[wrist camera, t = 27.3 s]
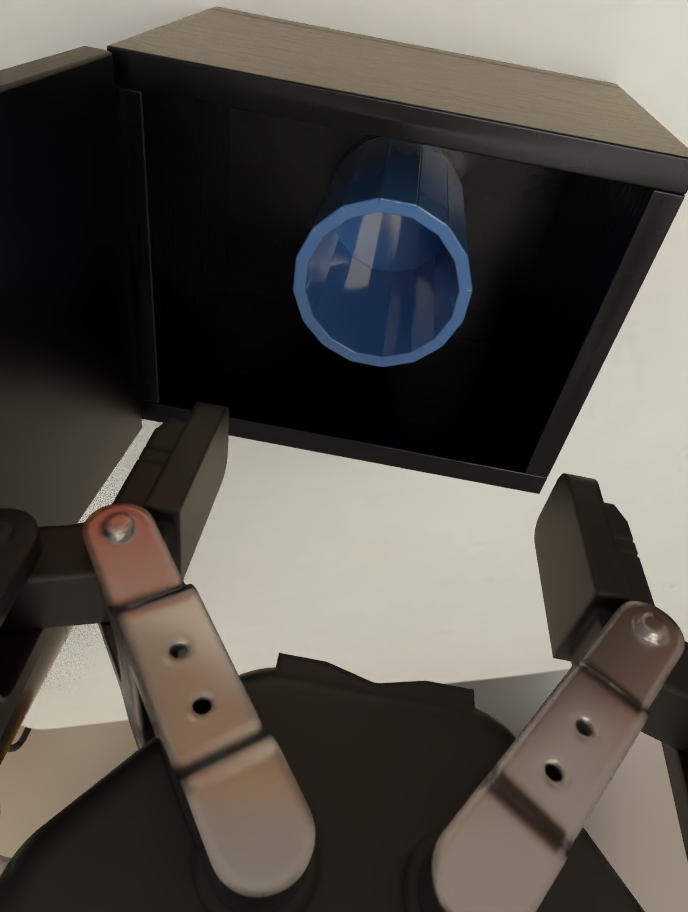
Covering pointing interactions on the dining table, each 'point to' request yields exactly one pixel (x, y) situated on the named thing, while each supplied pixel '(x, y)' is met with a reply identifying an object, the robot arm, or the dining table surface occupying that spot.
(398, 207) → the cup
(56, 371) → the black box lid
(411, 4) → the dining table surface
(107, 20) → the dining table surface
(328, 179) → the black lidded box
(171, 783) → the robot arm
